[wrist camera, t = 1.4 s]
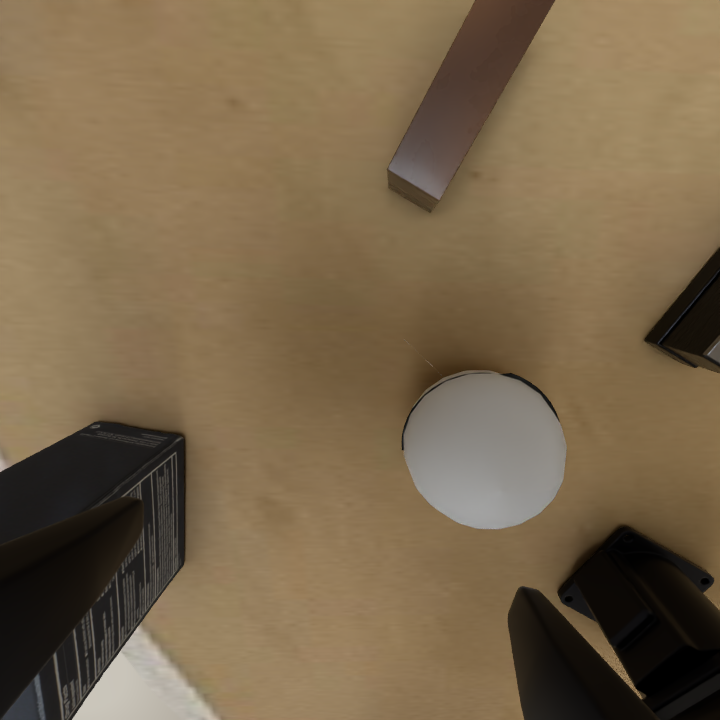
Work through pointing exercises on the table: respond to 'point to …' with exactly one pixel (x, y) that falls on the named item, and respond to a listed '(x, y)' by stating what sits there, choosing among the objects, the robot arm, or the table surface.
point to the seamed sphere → (485, 448)
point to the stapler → (693, 322)
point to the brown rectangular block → (463, 96)
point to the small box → (138, 571)
